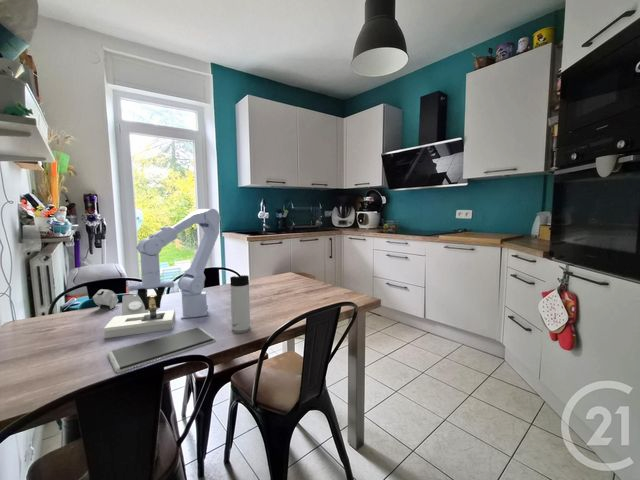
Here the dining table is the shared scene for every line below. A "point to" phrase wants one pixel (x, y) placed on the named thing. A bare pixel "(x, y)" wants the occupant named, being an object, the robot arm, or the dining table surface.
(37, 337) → the dining table surface
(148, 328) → the keyhole board
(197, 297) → the robot arm
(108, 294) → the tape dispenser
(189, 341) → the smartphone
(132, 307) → the light switch
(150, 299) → the peg
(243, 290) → the travel mug
